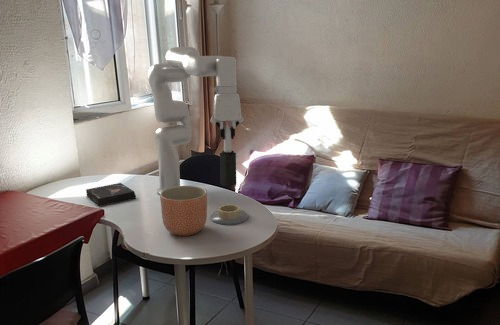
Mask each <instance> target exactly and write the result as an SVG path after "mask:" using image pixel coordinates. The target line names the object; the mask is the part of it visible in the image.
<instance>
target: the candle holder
mask: <svg viewBox="0 0 500 325" xmlns="http://www.w3.org/2000/svg"><path fill="white" fill-rule="evenodd" d="M248 217H249V214H248V212H247V211H244V210H242V209H241V207H240V206H239V205H237V204H232V203H231V204H223V205H220V206H218V207H217V210H215V211H213V212H212V213H211V214H210V220H211V221H212V222H213V223H215V224H219V225H223V226H235V225H239V224H243V223H244V222H246V221H247V220H248V219H249V218H248Z"/></svg>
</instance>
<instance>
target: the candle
mask: <svg viewBox="0 0 500 325" xmlns="http://www.w3.org/2000/svg"><path fill="white" fill-rule="evenodd" d="M224 127H225V129H224V133H225V139H223V150H222V151H221V152H219V168H220V169H219V172H220V185H221V186H223V187H227V188H229V187H232V186H236V185H237V153H236V152H234V150H232V149H233V148H232V144H233V143H232V139H231V130H230V128H231V127H230V125H229V121H225V126H224Z"/></svg>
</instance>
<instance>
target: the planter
mask: <svg viewBox="0 0 500 325" xmlns="http://www.w3.org/2000/svg"><path fill="white" fill-rule="evenodd" d="M207 191H208V190H207V189H205V188H203V187H201V186H197V185H180V186H176V187H171V188H168V189H165V190H164V191H162V192H161V193H160V196H159V198H160V207H161V208H160V209H161V219H162V224H163V226H164V227H165V229H166V230H167V231H168V232H169V233H171V234H173V235H174V236H177V237H188V236H193V235H195V234H198V233H199V232H201V230H203V229H204V228H205V225H206V223H207V218H208V192H207Z"/></svg>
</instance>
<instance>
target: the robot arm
mask: <svg viewBox="0 0 500 325" xmlns="http://www.w3.org/2000/svg"><path fill="white" fill-rule="evenodd" d="M165 61H166V62H160V63H156V64H153V65H151V66H150V67H149V69H148V71H147V79H148V84H149V87H150V89H151V90H150V91H151V94H152V99H153V100H152V101H153V108H154V115H155V116H154V117H155V118H156V122H158V124H172V123H176V124H174V125H166V126H165V125H164V126H160V127H159V128H157V129H156V130H155V132H154V135H153V136H154V142H155V145H156V151H157V159H158V160H157V161H158V175H159V176H158V177H159V188H157V189H156V193H157V195H160V193H161V192H162V191H164V190H165V189H168V188H171V187H176V186H181V178H180V177H181V175H180V174H181V173H180V160H179V159H180V156H179V153H178V151H177V150H176V149H175V147H176V146H182V145H186V144H189V143H190V142H191V140H192V136H193V135H192V123H191V116H190V115H191V114H190V110H189V107H188V105H187V103H186V102H185V101H182V100H176V101H175V100H173V94H172V90H171V89H170V87H169V86H168V85H167V84H166V83H178V82H179V83H182V82H185V81H186V80H188V79H189V78H190V76H195V77H201V78H202V77H215V78H216V79H215V80H216V81H215V82H216V85H215V87H212V92H214V93H215V94H214V98H213V110H212V111H213V112H212V113H213V115H212V116H211V118H210V120H209V122H210V123H211V124H212V125H215V126H217V128H219V137H220V138H221V140H224V139H225V133H224V127H225V126H224V122H230V125H231V126H230V127H229V128H230V130H231V140H234V139H235V136H236V128H237V127H238V125H239V124H241V123H242V122H245V119H244V117H243V115H242V105H241V100H240V99H241V98H240V94H239V93H237V92H238V90H237V59H236V58H235V57H233V56H223V55H200V52H199V51H198V49H196V48H195V47H191V46H176V47H175V46H174V47H171V48H170V49H169V50H167V52H166V54H165Z"/></svg>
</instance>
